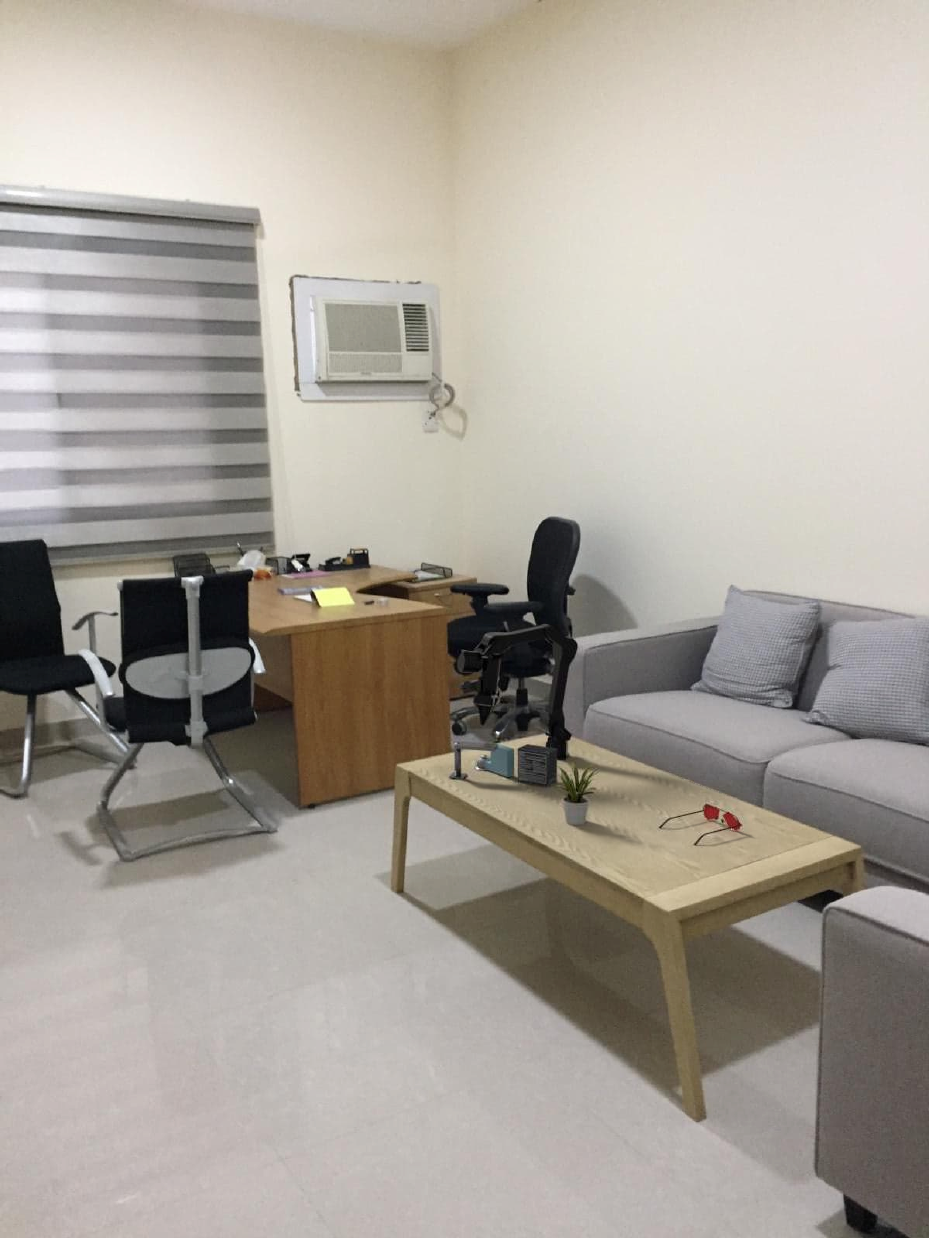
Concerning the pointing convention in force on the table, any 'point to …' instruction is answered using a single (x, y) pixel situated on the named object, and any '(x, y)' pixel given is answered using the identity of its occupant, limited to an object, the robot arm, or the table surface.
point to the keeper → (468, 746)
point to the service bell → (481, 768)
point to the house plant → (576, 795)
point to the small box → (537, 765)
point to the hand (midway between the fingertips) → (484, 722)
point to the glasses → (713, 813)
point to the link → (499, 761)
